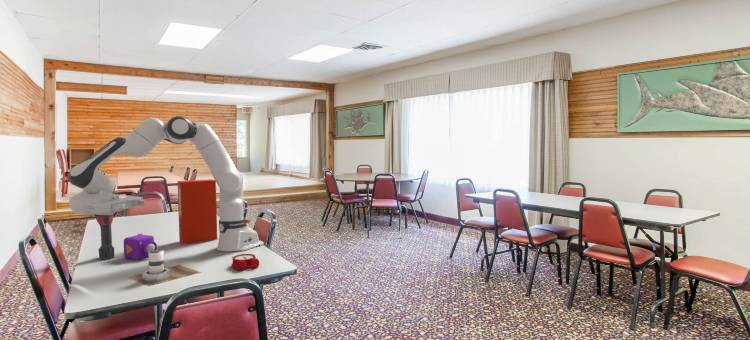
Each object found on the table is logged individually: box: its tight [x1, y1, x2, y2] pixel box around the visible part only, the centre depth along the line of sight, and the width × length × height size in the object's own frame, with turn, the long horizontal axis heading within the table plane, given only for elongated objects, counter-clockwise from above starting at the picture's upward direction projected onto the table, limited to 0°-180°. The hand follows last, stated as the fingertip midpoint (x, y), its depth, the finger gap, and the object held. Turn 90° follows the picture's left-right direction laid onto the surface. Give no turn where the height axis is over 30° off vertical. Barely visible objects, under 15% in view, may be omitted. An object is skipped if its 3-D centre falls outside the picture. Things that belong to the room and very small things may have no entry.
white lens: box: [148, 249, 165, 274], centre depth 157 cm, size 5×5×10 cm
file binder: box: [177, 178, 218, 245], centre depth 222 cm, size 8×17×32 cm, turn 126°
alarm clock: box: [230, 253, 260, 271], centre depth 175 cm, size 10×6×15 cm
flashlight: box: [93, 214, 115, 260], centre depth 190 cm, size 8×8×23 cm
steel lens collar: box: [141, 267, 170, 282], centre depth 157 cm, size 9×9×2 cm
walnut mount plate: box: [127, 264, 202, 287], centre depth 161 cm, size 20×17×1 cm
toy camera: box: [123, 233, 158, 260], centre depth 190 cm, size 11×14×10 cm
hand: (134, 204), depth 168 cm, fingers open, 8 cm apart
